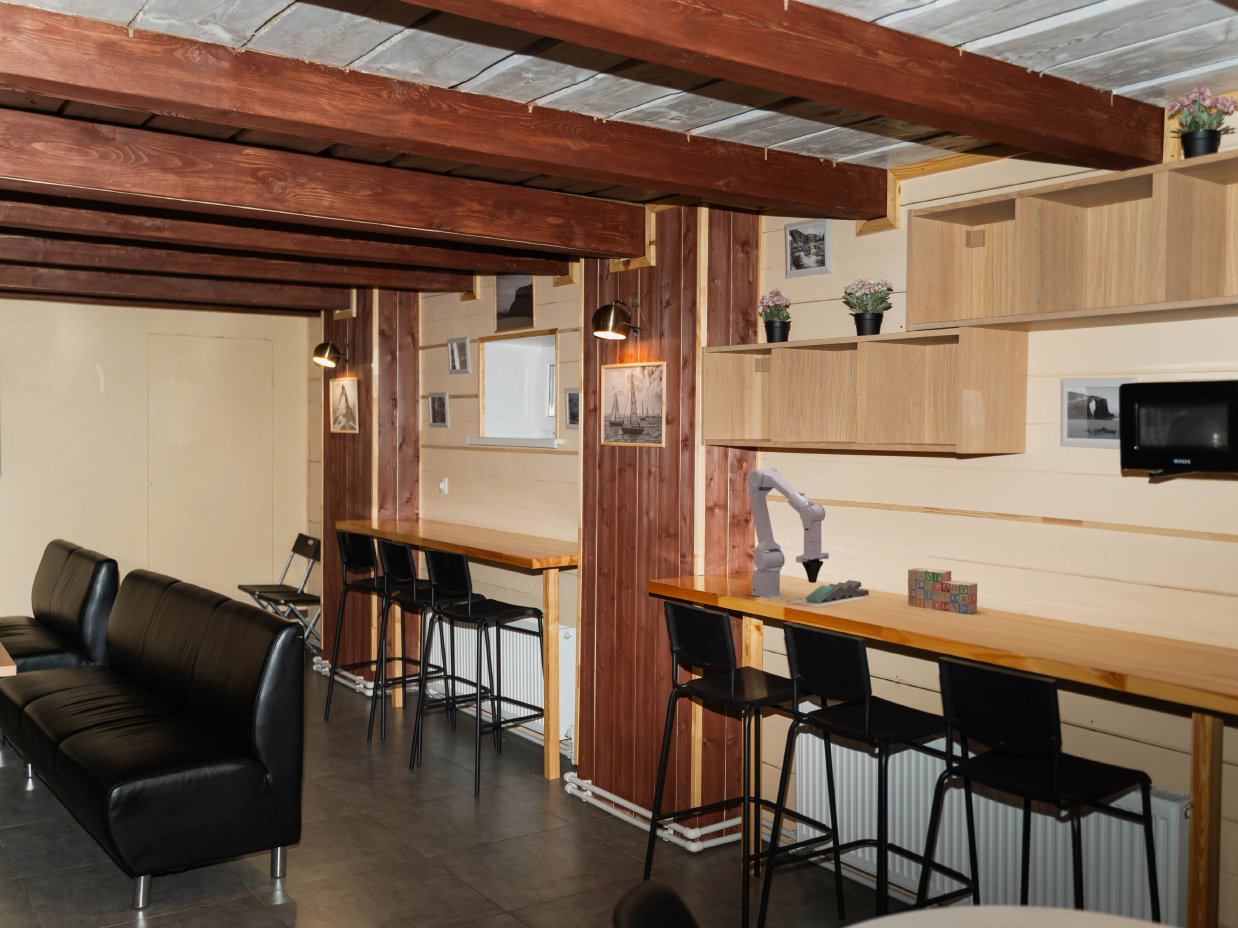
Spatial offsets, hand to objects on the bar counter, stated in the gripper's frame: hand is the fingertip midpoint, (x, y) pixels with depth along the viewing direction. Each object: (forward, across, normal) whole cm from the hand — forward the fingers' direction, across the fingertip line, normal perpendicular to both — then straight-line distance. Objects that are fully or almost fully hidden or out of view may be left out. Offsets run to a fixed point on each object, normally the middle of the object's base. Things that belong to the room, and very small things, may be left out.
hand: (812, 582), depth 351 cm
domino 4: (+6, +14, 0) cm, 15 cm away
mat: (+7, +8, 0) cm, 11 cm away
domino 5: (+6, +18, 0) cm, 19 cm away
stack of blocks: (+8, +25, -33) cm, 42 cm away
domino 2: (+6, +4, 0) cm, 8 cm away
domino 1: (+6, 0, 0) cm, 6 cm away
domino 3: (+6, +9, 0) cm, 11 cm away
